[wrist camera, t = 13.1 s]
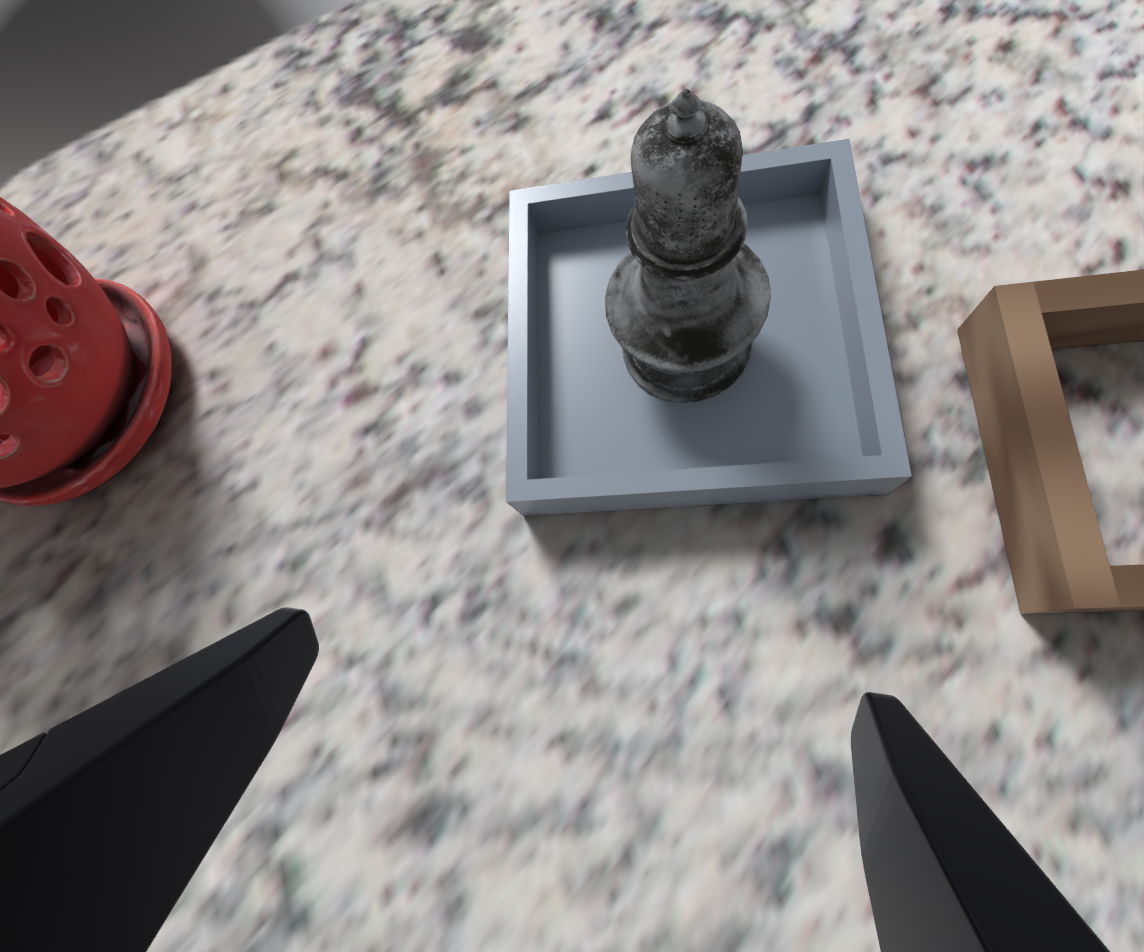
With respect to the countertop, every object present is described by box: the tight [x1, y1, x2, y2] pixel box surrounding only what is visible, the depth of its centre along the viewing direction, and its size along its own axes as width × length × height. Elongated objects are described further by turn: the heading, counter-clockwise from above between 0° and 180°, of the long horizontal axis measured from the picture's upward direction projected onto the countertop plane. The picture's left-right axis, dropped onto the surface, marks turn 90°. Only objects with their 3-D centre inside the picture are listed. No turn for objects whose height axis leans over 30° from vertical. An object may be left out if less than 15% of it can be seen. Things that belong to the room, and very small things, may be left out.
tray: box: [506, 139, 911, 516], centre depth 24 cm, size 14×14×2 cm
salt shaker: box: [605, 89, 771, 403], centre depth 19 cm, size 6×6×12 cm
